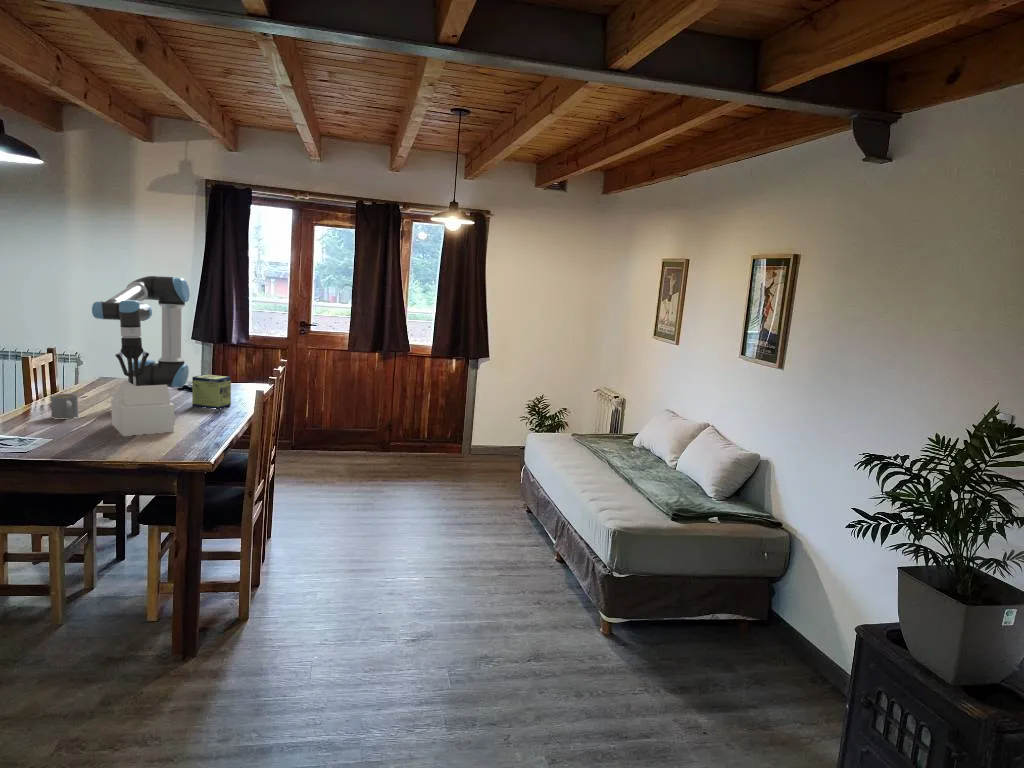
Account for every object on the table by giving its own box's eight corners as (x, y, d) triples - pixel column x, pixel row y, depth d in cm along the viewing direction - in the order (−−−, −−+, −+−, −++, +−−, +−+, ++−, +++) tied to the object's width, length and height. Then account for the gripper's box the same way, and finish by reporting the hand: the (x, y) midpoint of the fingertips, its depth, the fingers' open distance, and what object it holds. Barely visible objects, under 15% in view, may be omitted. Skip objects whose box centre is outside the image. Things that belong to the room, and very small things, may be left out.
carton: (111, 424, 299) (111, 398, 297) (161, 421, 312) (160, 395, 310) (123, 436, 281) (122, 407, 279) (175, 432, 294) (175, 404, 292)
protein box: (219, 409, 343) (219, 379, 341) (191, 406, 346) (191, 376, 344) (231, 406, 354) (231, 376, 351) (204, 403, 357) (204, 374, 354)
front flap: (125, 405, 280) (122, 387, 283) (170, 402, 291) (166, 385, 294) (125, 405, 279) (122, 386, 283) (170, 402, 290) (166, 384, 294)
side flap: (111, 396, 294) (125, 379, 296) (112, 397, 294) (126, 380, 296) (118, 402, 284) (132, 384, 286) (119, 402, 284) (133, 385, 287)
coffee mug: (51, 415, 308) (50, 394, 307) (77, 414, 314) (76, 393, 313) (52, 421, 298) (51, 399, 296) (79, 420, 303) (78, 398, 302)
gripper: (116, 338, 282) (120, 394, 286) (149, 337, 291) (152, 391, 295) (112, 336, 288) (116, 391, 292) (145, 335, 296) (148, 388, 300)
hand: (134, 391), depth 293 cm, fingers closed
